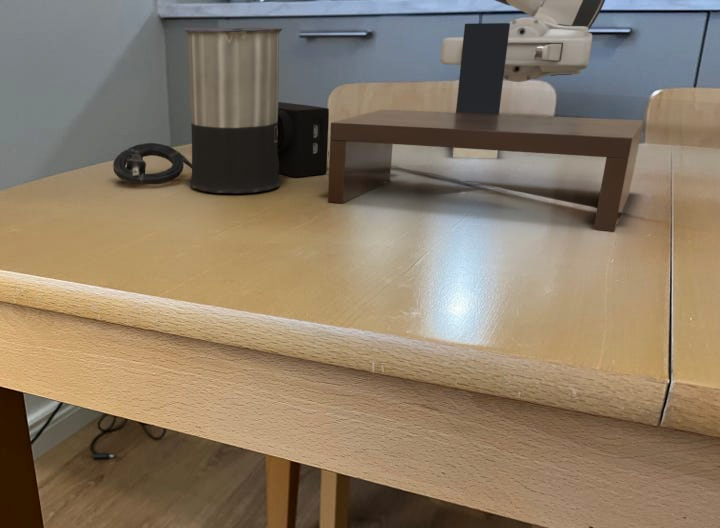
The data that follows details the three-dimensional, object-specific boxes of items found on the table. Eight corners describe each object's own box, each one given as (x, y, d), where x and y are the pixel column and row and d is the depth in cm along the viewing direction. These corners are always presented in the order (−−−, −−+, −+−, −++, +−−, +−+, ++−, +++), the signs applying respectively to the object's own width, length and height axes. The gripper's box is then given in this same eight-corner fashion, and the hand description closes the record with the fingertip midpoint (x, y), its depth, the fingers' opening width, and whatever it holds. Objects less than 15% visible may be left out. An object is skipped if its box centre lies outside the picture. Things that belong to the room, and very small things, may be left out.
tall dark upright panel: (452, 148, 99) (464, 23, 93) (491, 149, 98) (507, 23, 92) (452, 161, 89) (466, 23, 83) (496, 162, 88) (514, 22, 82)
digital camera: (235, 165, 88) (235, 103, 85) (274, 161, 90) (275, 100, 87) (285, 179, 80) (286, 110, 77) (326, 174, 82) (329, 107, 79)
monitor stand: (376, 179, 79) (381, 109, 76) (627, 200, 68) (643, 120, 65) (327, 202, 69) (330, 122, 66) (614, 231, 58) (632, 137, 55)
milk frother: (295, 191, 73) (298, 25, 67) (137, 204, 69) (125, 27, 63) (245, 169, 86) (244, 27, 80) (107, 178, 81) (95, 28, 75)
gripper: (456, 27, 115) (430, 27, 104) (600, 26, 106) (588, 26, 95) (451, 71, 118) (425, 76, 107) (592, 73, 109) (580, 79, 98)
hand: (503, 52), depth 101 cm, fingers open, 8 cm apart
